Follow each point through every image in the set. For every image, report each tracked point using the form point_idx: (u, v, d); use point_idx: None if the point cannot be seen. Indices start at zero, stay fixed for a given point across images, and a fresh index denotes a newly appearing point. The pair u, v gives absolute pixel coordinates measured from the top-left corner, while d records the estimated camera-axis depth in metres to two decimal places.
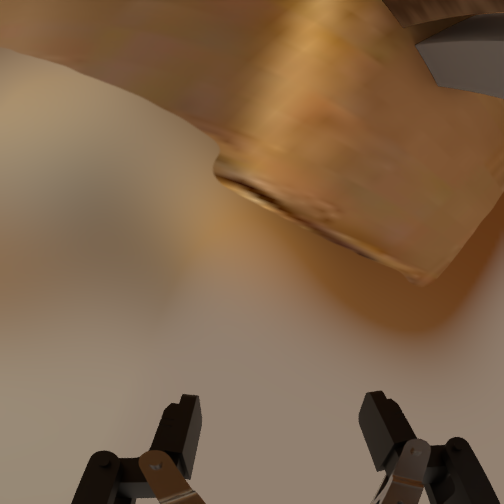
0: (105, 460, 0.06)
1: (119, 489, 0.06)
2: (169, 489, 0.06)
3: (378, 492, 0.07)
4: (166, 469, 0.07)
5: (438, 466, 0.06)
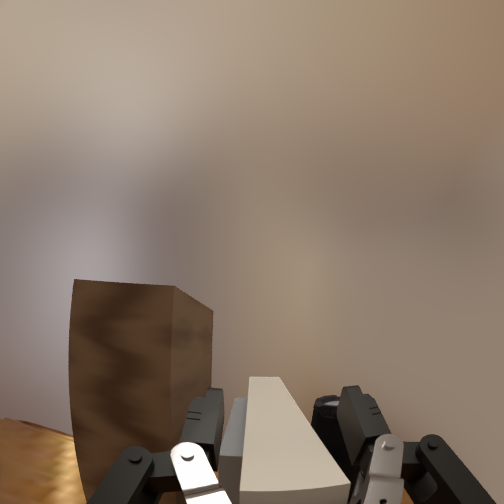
0: (137, 456, 0.07)
1: (146, 485, 0.07)
2: (196, 481, 0.06)
3: (356, 490, 0.07)
4: (199, 460, 0.07)
5: (411, 463, 0.07)
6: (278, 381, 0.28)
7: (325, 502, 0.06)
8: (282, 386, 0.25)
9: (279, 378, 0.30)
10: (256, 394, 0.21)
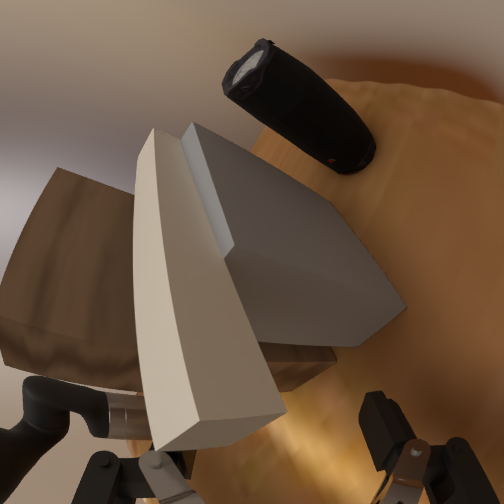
0: (105, 460, 0.06)
1: (119, 489, 0.06)
2: (169, 489, 0.06)
3: (378, 492, 0.07)
4: (166, 469, 0.07)
5: (438, 466, 0.06)
6: (151, 140, 0.22)
7: (211, 428, 0.06)
8: (153, 149, 0.20)
9: (153, 131, 0.23)
10: (137, 198, 0.18)
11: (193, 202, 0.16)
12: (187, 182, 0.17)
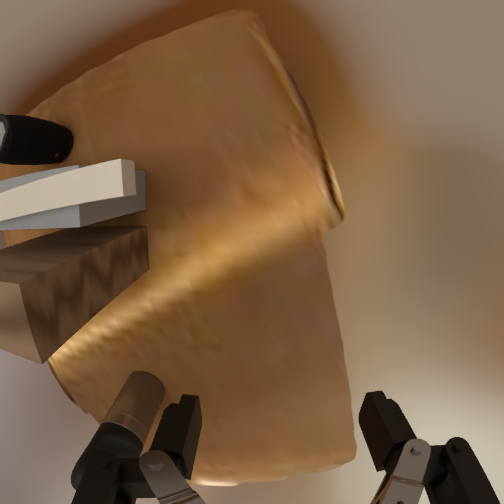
0: (105, 460, 0.06)
1: (119, 489, 0.06)
2: (169, 489, 0.06)
3: (378, 492, 0.07)
4: (166, 469, 0.07)
5: (438, 466, 0.06)
6: None
7: (124, 167, 0.23)
8: None
9: None
10: (17, 211, 0.24)
11: None
12: None
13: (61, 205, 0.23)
